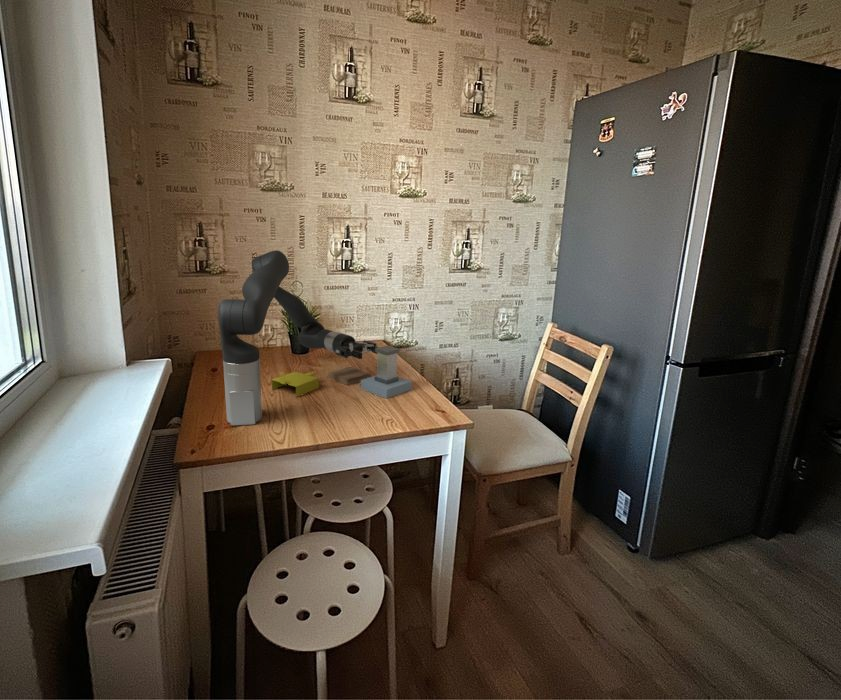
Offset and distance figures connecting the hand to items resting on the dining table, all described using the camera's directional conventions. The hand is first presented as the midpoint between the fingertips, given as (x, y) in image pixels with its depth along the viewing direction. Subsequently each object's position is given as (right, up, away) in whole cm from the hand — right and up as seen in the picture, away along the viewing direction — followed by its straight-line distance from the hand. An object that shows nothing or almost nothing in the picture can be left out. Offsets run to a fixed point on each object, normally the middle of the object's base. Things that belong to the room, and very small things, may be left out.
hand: (371, 353), depth 165 cm
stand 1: (-8, -9, +6) cm, 14 cm away
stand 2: (+5, -12, -2) cm, 13 cm away
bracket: (-23, -12, -4) cm, 26 cm away
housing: (+5, -9, -3) cm, 11 cm away
